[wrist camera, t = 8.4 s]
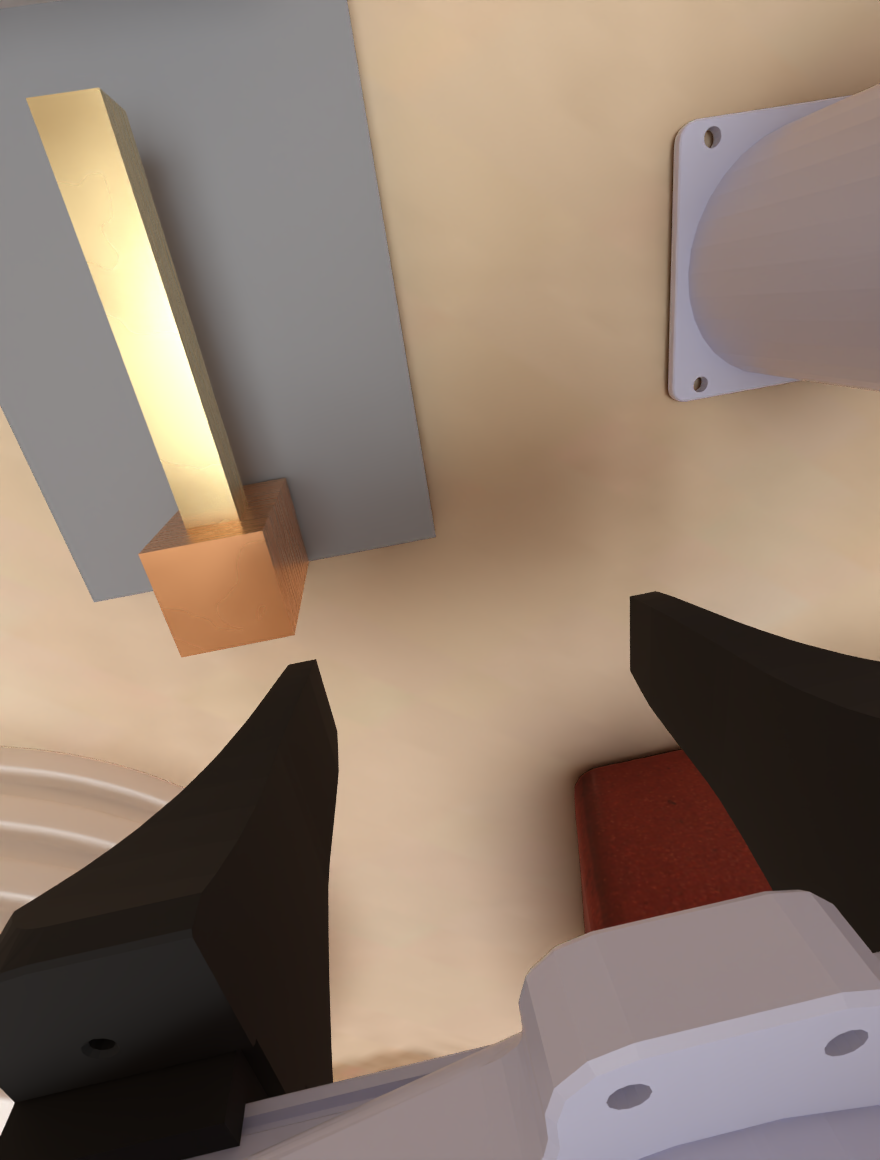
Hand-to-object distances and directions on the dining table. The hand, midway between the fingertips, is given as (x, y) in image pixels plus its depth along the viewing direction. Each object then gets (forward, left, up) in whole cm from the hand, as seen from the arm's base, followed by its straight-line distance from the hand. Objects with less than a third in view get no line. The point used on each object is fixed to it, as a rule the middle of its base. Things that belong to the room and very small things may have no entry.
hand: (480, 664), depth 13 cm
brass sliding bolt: (+6, -6, -8) cm, 12 cm away
